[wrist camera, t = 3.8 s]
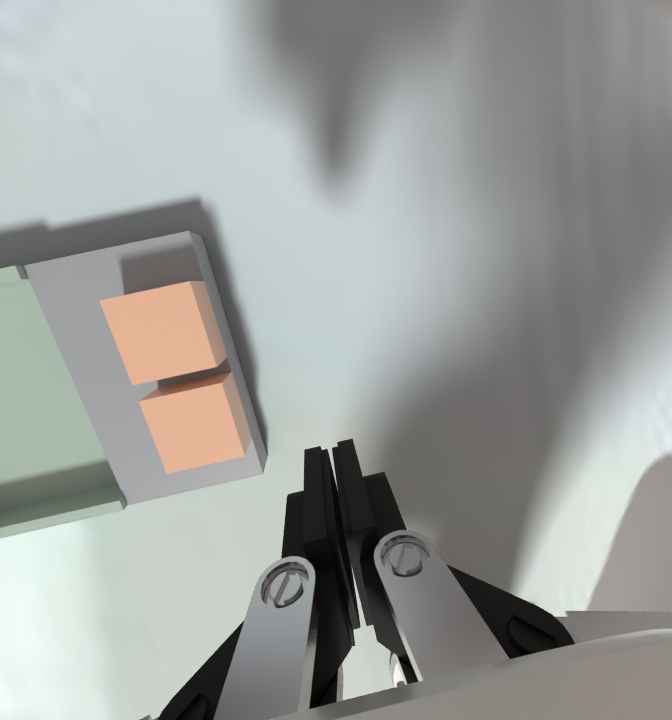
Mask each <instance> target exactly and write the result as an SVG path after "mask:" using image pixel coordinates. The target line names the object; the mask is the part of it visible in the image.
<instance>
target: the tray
mask: <svg viewBox="0 0 672 720" xmlns="http://www.w3.org/2000/svg"><path fill="white" fill-rule="evenodd" d="M126 506H127V503H126V501H125V498H124V496H123V494H122V492H121V489H120V487H119V485H118V482H117V480H116V478H115V476H114V473H113V471H112V469H111V467H110V464H109V462H108V460H107V457H106V455H105V453H104V451H103V448H102V446H101V444H100V441H99V439H98V437H97V435H96V432H95V430H94V428H93V425H92V423H91V421H90V419H89V416H88V414H87V412H86V409H85V407H84V405H83V403H82V400H81V398H80V396H79V394H78V391H77V389H76V387H75V384H74V382H73V380H72V378H71V375H70V373H69V371H68V368H67V366H66V364H65V362H64V359H63V357H62V355H61V352H60V350H59V348H58V346H57V343H56V341H55V339H54V336H53V334H52V332H51V330H50V327H49V325H48V323H47V320H46V318H45V316H44V314H43V311H42V309H41V307H40V305H39V302H38V300H37V298H36V295H35V293H34V291H33V289H32V286H31V284H30V282H29V279H28V277H27V275H26V273H25V270H24V268H23V266H17V265H15V266H10V267H5V268H0V538H4V537H8V536H13V535H17V534H21V533H26V532H30V531H34V530H39V529H43V528H47V527H52V526H56V525H60V524H65V523H69V522H73V521H78V520H82V519H86V518H91V517H95V516H99V515H104V514H108V513H113V512H117V511H121V510H124V509H125V508H126Z"/></svg>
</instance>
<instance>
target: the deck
mask: <svg viewBox="0 0 672 720" xmlns="http://www.w3.org/2000/svg"><path fill="white" fill-rule="evenodd" d="M23 268H24V270H25V273H26V275H27V277H28V279H29V282H30V284H31V286H32V289H33V291H34V293H35V295H36V298H37V300H38V302H39V305H40V307H41V309H42V311H43V314H44V316H45V318H46V320H47V323H48V325H49V327H50V330H51V332H52V334H53V336H54V339H55V341H56V343H57V346H58V348H59V350H60V352H61V355H62V357H63V359H64V362H65V364H66V366H67V368H68V371H69V373H70V375H71V378H72V380H73V382H74V384H75V387H76V389H77V391H78V394H79V396H80V398H81V400H82V403H83V405H84V407H85V409H86V412H87V414H88V416H89V419H90V421H91V423H92V425H93V428H94V430H95V432H96V435H97V437H98V439H99V441H100V444H101V446H102V448H103V451H104V453H105V455H106V457H107V460H108V462H109V464H110V467H111V469H112V471H113V473H114V476H115V478H116V480H117V482H118V485H119V487H120V489H121V492H122V494H123V496H124V498H125V501H126V503H127V505H131V504H135V503H139V502H144V501H148V500H152V499H157V498H161V497H165V496H170V495H174V494H178V493H183V492H187V491H191V490H196V489H200V488H205V487H209V486H213V485H218V484H222V483H226V482H231V481H235V480H239V479H244V478H248V477H252V476H257V475H261V474H263V472H264V468H265V464H266V460H267V453H266V449H265V446H264V443H263V439H262V436H261V432H260V429H259V426H258V422H257V419H256V416H255V412H254V409H253V405H252V402H251V399H250V395H249V392H248V389H247V385H246V382H245V378H244V375H243V372H242V368H241V365H240V361H239V358H238V355H237V351H236V348H235V345H234V341H233V338H232V334H231V331H230V328H229V324H228V321H227V318H226V314H225V311H224V307H223V304H222V301H221V297H220V294H219V291H218V287H217V284H216V280H215V277H214V274H213V270H212V267H211V263H210V260H209V257H208V253H207V250H206V247H205V243H204V240H203V236H201V235H199V234H196V233H194V232H191V231H184V232H180V233H175V234H170V235H166V236H161V237H156V238H151V239H147V240H142V241H137V242H132V243H128V244H123V245H118V246H114V247H109V248H104V249H99V250H95V251H90V252H85V253H80V254H76V255H71V256H66V257H62V258H57V259H52V260H47V261H43V262H38V263H33V264H29V265H24V266H23ZM188 281H204V282H205V285H206V288H207V292H208V295H209V298H210V302H211V305H212V308H213V311H214V315H215V318H216V321H217V325H218V328H219V331H220V334H221V338H222V341H223V344H224V348H225V351H226V354H227V358H226V359H225V360H224V361H223V362H222V363H221V364H219V365H218V366H217V367H214V368H210V369H205V370H201V371H196V372H192V373H187V374H183V375H178V376H174V377H169V378H165V379H160V380H156V381H151V382H147V383H142V384H138V385H133V386H132V383H131V381H130V378H129V376H128V373H127V371H126V368H125V365H124V363H123V360H122V358H121V355H120V353H119V350H118V348H117V345H116V342H115V340H114V337H113V335H112V332H111V330H110V327H109V325H108V322H107V319H106V317H105V314H104V312H103V309H102V307H101V304H100V301H99V300H104V299H109V298H113V297H118V296H123V295H127V294H132V293H137V292H141V291H146V290H151V289H155V288H160V287H164V286H169V285H174V284H178V283H183V282H188ZM231 371H232V374H233V377H234V380H235V384H236V387H237V390H238V394H239V397H240V400H241V403H242V407H243V410H244V413H245V416H246V420H247V423H248V426H249V430H250V433H251V436H252V439H251V441H250V444H249V447H248V450H247V452H246V455H245V456H244V457H239V458H235V459H231V460H226V461H222V462H218V463H213V464H209V465H204V466H200V467H196V468H191V469H187V470H183V471H178V472H174V473H169V474H167V473H166V470H165V468H164V465H163V463H162V460H161V458H160V455H159V452H158V450H157V447H156V445H155V442H154V440H153V437H152V435H151V432H150V429H149V427H148V424H147V422H146V419H145V417H144V414H143V412H142V409H141V406H140V404H139V401H140V400H141V399H143V398H144V397H145V396H147V395H148V394H150V393H151V392H153V391H154V390H155V389H157V388H159V387H163V386H168V385H173V384H177V383H182V382H186V381H191V380H195V379H200V378H204V377H209V376H213V375H218V374H222V373H227V372H231Z"/></svg>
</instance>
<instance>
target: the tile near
mask: <svg viewBox="0 0 672 720" xmlns="http://www.w3.org/2000/svg"><path fill="white" fill-rule="evenodd" d="M99 301H100V304H101V307H102V309H103V312H104V314H105V317H106V319H107V322H108V325H109V327H110V330H111V332H112V335H113V337H114V340H115V342H116V345H117V348H118V350H119V353H120V355H121V358H122V360H123V363H124V365H125V368H126V371H127V373H128V376H129V378H130V381H131V383H132V386H133V385H138V384H142V383H147V382H151V381H156V380H160V379H165V378H169V377H174V376H178V375H183V374H187V373H192V372H196V371H201V370H205V369H210V368H214V367H217V366H218V365H219V364H221V363H222V362H223V361H224V360H225V359H226V358H227V354H226V351H225V348H224V344H223V341H222V338H221V334H220V331H219V328H218V325H217V321H216V318H215V315H214V311H213V308H212V305H211V302H210V298H209V295H208V292H207V288H206V285H205V282H204V281H188V282H183V283H178V284H174V285H169V286H164V287H160V288H155V289H151V290H146V291H141V292H137V293H132V294H127V295H123V296H118V297H113V298H109V299H104V300H99Z"/></svg>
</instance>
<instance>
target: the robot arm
mask: <svg viewBox="0 0 672 720" xmlns="http://www.w3.org/2000/svg"><path fill="white" fill-rule="evenodd" d="M337 444H338V447H333V448H332V452H333V459H334V466H335V473H336V481H337V486H336V482H335V478H334V474H333V470H332V466H331V462H330V457H329V453H328V450H327V449H325V450H322V449H321V447H320V446H319V447H314V448H310V449H306V450H305V452H304V491H300V492H296V493H291V494H288V496H287V504H286V515H285V525H284V536H283V547H282V558H281V559H280V560H278V561H276V562H274V563H273V564H272V565H270V566H269V567H268V568H267V569H266V570H265V571H264V572H263V573H262V575H261V576H260V577H259V579H258V581H257V584H256V586H255V589H254V592H253V595H252V598H251V601H250V605H249V608H248V611H247V614H246V617H245V620H244V621H243V622H242V623H241V624H240V625H239V627H238V628H237V629H236V630H235V631H234V632H233V633H232V634H231V635H230V636H229V637H228V638H227V640H226V641H225V642H224V643H223V644H222V645H221V646H220V647H219V648H218V649H217V650H216V652H215V653H214V654H213V655H212V656H211V657H210V658H209V659H208V660H207V661H206V662H205V663H204V665H203V666H202V667H201V668H200V669H199V670H198V671H197V672H196V673H195V674H194V675H193V676H192V678H191V679H190V680H189V681H188V682H187V683H186V684H185V685H184V686H183V687H182V688H181V689H180V691H179V692H178V693H177V694H176V695H175V696H174V697H173V698H172V700H171V701H170V702H169V703H168V705H167V706H166V707H165V709H164V710H163V711H162V713H161V715H160V716H159V717H158V718H156V719H154V720H672V613H671V612H627V611H619V612H618V611H566V617H554V616H553V615H552V614H550V613H548V612H547V611H545V610H543V609H542V608H540V607H538V606H536V605H534V604H532V603H529V602H527V601H525V600H523V599H521V598H518V597H516V596H514V595H512V594H510V593H508V592H505V591H503V590H501V589H499V588H497V587H494V586H492V585H490V584H488V583H486V582H484V581H481V580H479V579H477V578H475V577H473V576H470V575H468V574H466V573H464V572H462V571H459V570H457V569H455V568H453V567H451V566H449V565H446V563H445V562H444V560H443V559H442V557H441V556H440V554H439V553H438V551H437V550H436V548H435V547H434V545H433V544H432V543H431V542H430V541H429V540H428V538H427V537H425V536H423V535H422V534H420V533H418V532H415V531H411V530H407V529H406V527H405V524H404V522H403V519H402V516H401V514H400V511H399V509H398V506H397V503H396V501H395V498H394V496H393V493H392V490H391V488H390V485H389V483H388V480H387V477H386V475H385V473H384V472H381V473H377V474H372V475H368V476H364V477H363V476H362V472H361V469H360V465H359V461H358V457H357V454H356V450H355V446H354V443H353V439H349V440H345V441H340V442H337ZM337 488H338V490H337ZM351 565H352V567H351ZM352 569H353V573H354V577H355V581H356V585H357V589H358V593H359V597H360V601H361V605H362V609H363V613H364V617H365V621H366V625H367V626H369V625H374V629H375V633H376V637H377V641H378V642H379V643H381V644H382V645H383V646H385V647H386V648H387V649H389V650H390V651H392V652H393V655H392V658H391V664H390V672H391V678H392V683H393V686H394V688H391V689H387V690H383V691H379V692H375V693H371V694H367V695H363V696H359V697H355V698H352V699H348V700H344V701H343V668H342V662H343V661H344V659H345V657H346V656H347V654H348V653H349V651H350V649H351V648H352V647H351V646H355V641H354V633H353V629H357V628H360V620H359V614H358V607H357V600H356V593H355V587H354V580H353V573H352ZM140 720H152V718H151V716H150V715H148V716H146V717H144V718H142V719H140Z"/></svg>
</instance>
